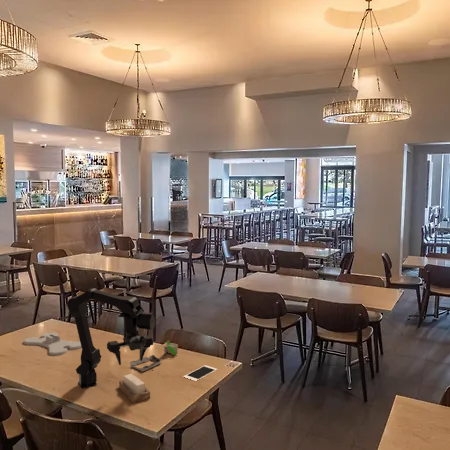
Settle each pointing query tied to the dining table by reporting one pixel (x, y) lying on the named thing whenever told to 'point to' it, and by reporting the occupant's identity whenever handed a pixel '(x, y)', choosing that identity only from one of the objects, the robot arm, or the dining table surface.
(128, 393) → the cradle
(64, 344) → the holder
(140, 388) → the white rectangular block
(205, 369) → the cell phone
